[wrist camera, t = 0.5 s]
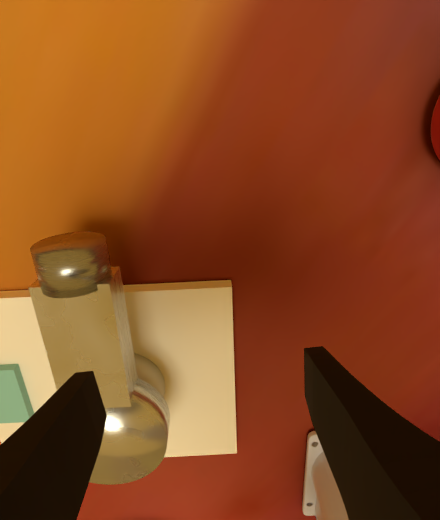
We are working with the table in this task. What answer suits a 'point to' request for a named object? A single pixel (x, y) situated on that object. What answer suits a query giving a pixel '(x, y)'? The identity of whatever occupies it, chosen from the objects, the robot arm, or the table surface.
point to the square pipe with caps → (98, 350)
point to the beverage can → (436, 128)
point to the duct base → (164, 339)
